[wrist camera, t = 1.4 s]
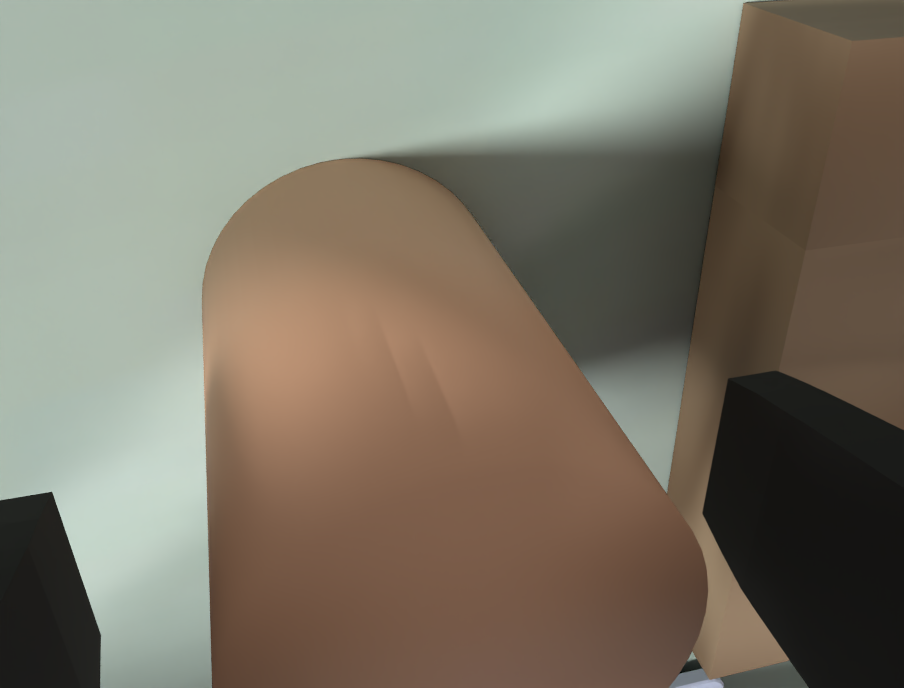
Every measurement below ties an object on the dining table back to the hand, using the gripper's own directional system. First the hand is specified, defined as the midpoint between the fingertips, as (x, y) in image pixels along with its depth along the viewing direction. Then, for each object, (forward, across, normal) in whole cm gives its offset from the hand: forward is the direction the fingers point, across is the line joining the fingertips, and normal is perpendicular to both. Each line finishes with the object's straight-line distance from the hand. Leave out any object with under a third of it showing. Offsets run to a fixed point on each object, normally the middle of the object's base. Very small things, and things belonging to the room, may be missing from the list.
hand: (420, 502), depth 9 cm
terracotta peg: (+5, 0, 0) cm, 5 cm away
